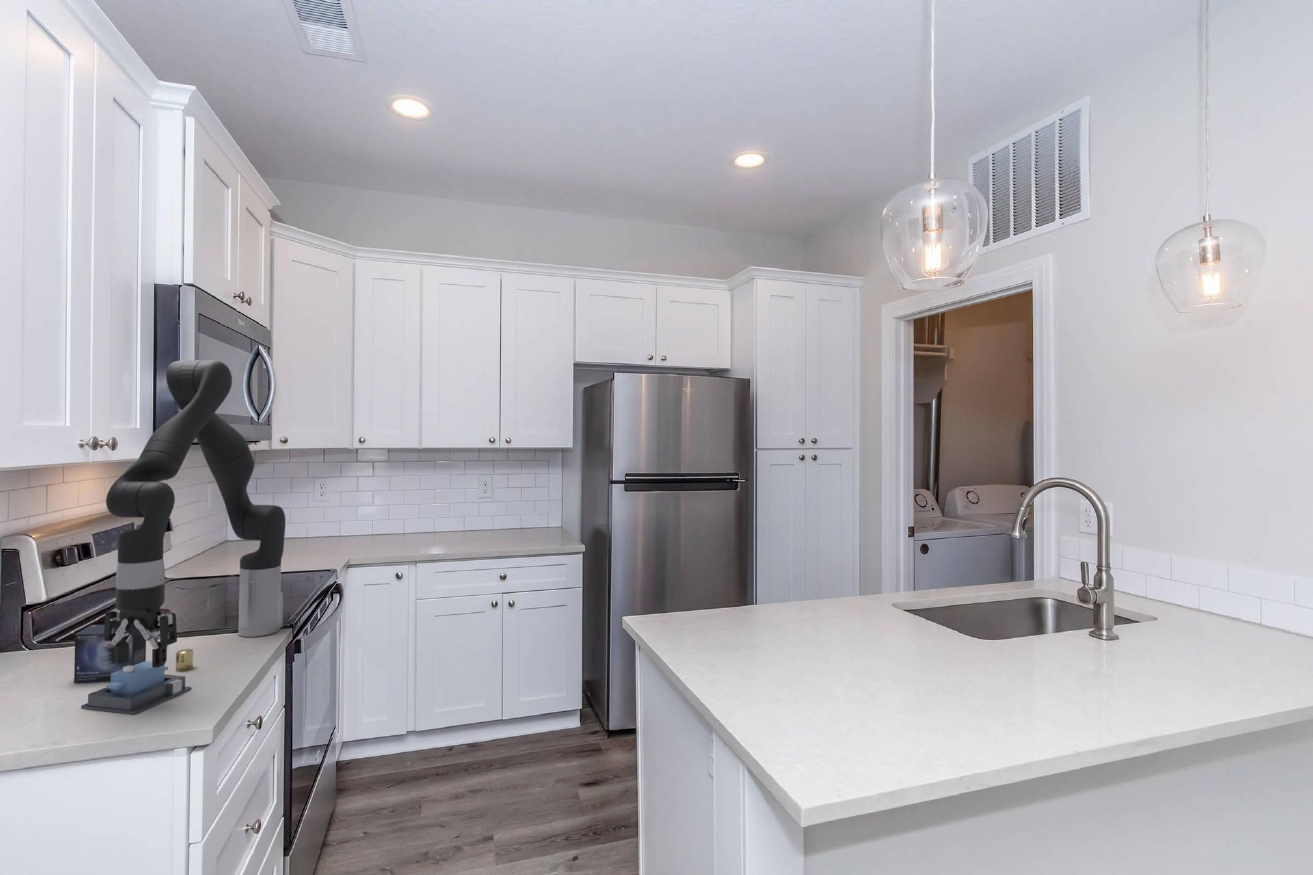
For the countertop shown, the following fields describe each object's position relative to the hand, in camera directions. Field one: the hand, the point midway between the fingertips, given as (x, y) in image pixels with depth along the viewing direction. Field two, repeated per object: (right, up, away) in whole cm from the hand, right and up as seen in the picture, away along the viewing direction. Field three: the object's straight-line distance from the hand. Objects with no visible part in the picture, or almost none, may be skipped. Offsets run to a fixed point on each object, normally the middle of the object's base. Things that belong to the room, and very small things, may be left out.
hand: (140, 664), depth 127 cm
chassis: (0, -7, 0) cm, 7 cm away
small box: (-15, -7, +10) cm, 19 cm away
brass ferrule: (-3, -7, +15) cm, 17 cm away
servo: (0, -6, 0) cm, 6 cm away
